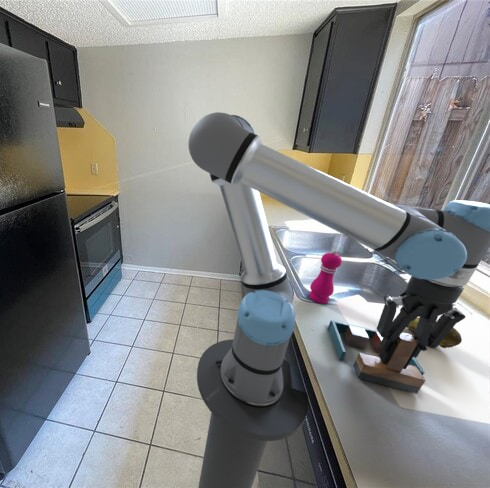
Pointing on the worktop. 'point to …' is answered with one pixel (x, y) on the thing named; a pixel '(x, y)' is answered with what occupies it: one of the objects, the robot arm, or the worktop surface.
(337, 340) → the teal u-shaped frame
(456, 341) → the yellow-green oblong lump
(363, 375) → the wooden t-shaped block
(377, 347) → the mahogany block
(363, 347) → the walnut block
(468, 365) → the worktop surface
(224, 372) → the robot arm
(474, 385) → the worktop surface
